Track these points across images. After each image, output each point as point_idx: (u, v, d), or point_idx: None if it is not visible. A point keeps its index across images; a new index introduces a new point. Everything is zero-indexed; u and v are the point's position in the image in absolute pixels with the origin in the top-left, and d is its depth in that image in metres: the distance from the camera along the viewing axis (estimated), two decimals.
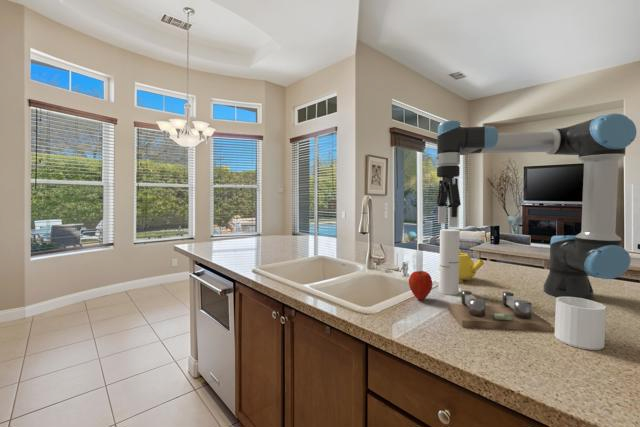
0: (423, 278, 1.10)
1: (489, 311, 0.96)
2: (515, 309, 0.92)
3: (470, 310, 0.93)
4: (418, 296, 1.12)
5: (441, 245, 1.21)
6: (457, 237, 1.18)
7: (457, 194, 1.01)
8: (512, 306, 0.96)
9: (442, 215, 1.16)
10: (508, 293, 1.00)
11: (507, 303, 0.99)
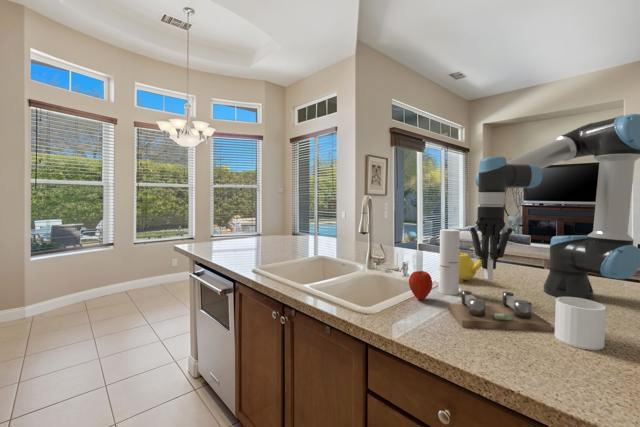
0: (423, 278, 1.10)
1: (489, 311, 0.96)
2: (515, 309, 0.92)
3: (470, 310, 0.93)
4: (418, 296, 1.12)
5: (441, 245, 1.21)
6: (457, 237, 1.18)
7: (475, 245, 0.98)
8: (512, 306, 0.96)
9: None
10: (508, 293, 1.00)
11: (507, 303, 0.99)
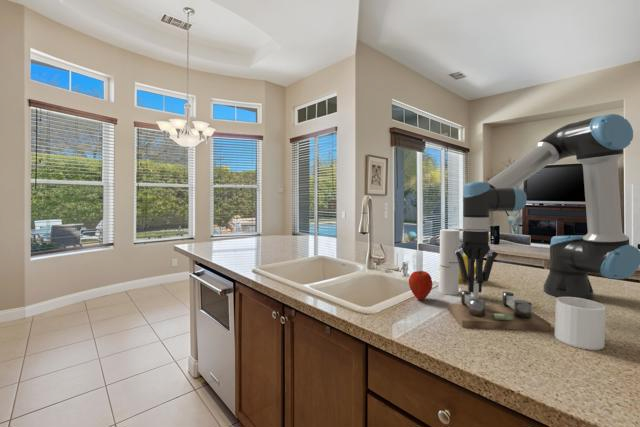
0: (423, 278, 1.10)
1: (489, 311, 0.96)
2: (515, 309, 0.92)
3: (470, 310, 0.93)
4: (418, 296, 1.12)
5: (441, 245, 1.21)
6: (457, 237, 1.18)
7: (461, 269, 0.99)
8: (512, 306, 0.96)
9: None
10: (508, 293, 1.00)
11: (507, 303, 0.99)
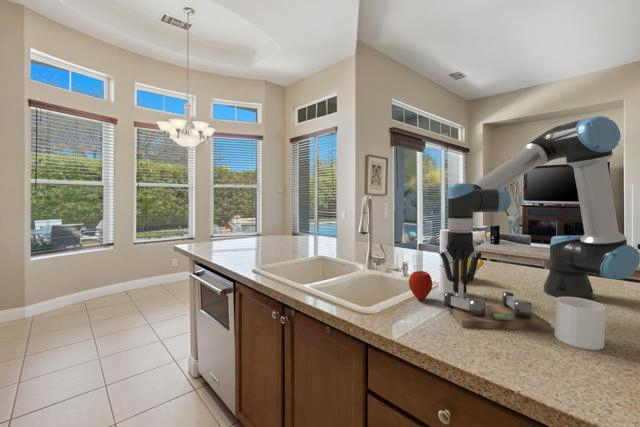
0: (423, 278, 1.10)
1: (489, 311, 0.96)
2: (515, 309, 0.92)
3: (475, 312, 0.92)
4: (418, 296, 1.12)
5: (441, 245, 1.21)
6: None
7: (446, 270, 1.00)
8: (512, 306, 0.96)
9: None
10: (508, 293, 1.00)
11: (507, 303, 0.99)
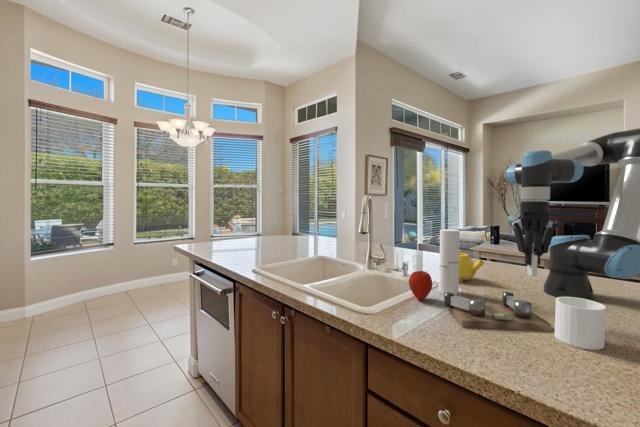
0: (423, 278, 1.10)
1: (489, 311, 0.96)
2: (515, 309, 0.92)
3: (475, 312, 0.92)
4: (418, 296, 1.12)
5: (441, 245, 1.21)
6: (457, 237, 1.18)
7: (519, 241, 0.96)
8: (512, 306, 0.96)
9: None
10: (508, 293, 1.00)
11: (507, 303, 0.99)
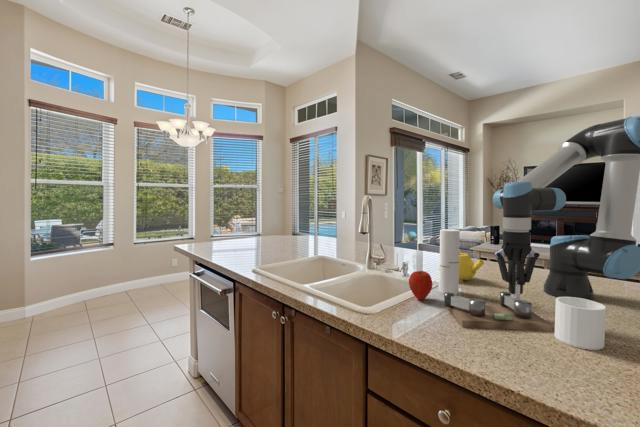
0: (423, 278, 1.10)
1: (489, 311, 0.96)
2: (515, 309, 0.92)
3: (475, 312, 0.92)
4: (418, 296, 1.12)
5: (441, 245, 1.21)
6: (457, 237, 1.18)
7: (502, 270, 0.97)
8: (511, 306, 0.96)
9: None
10: (506, 293, 1.00)
11: (505, 303, 0.99)
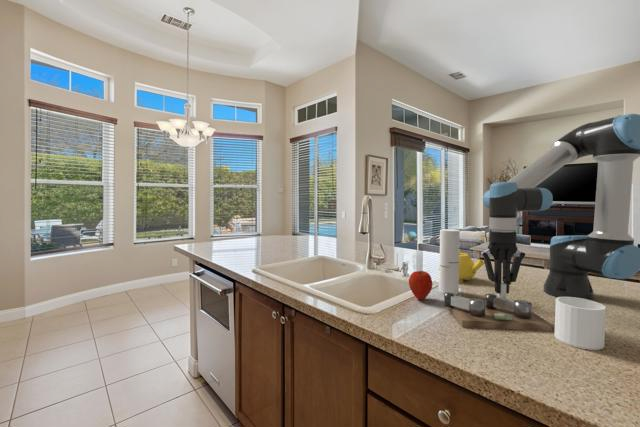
0: (423, 278, 1.10)
1: (489, 311, 0.96)
2: (520, 311, 0.90)
3: (475, 312, 0.92)
4: (418, 296, 1.12)
5: (441, 245, 1.21)
6: (457, 237, 1.18)
7: (488, 270, 0.98)
8: (506, 308, 0.94)
9: None
10: (492, 295, 0.98)
11: (495, 306, 0.97)
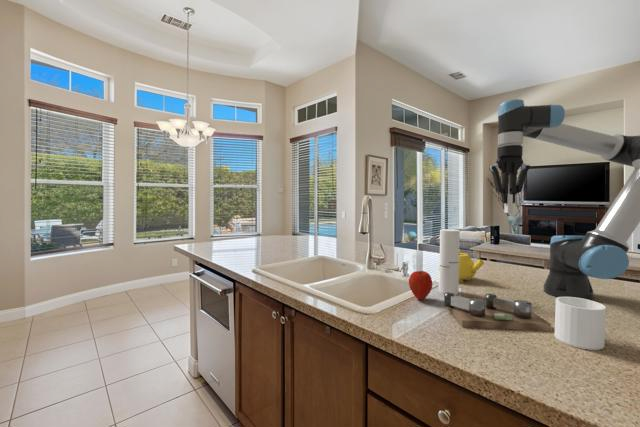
0: (423, 278, 1.10)
1: (489, 311, 0.96)
2: (520, 311, 0.90)
3: (475, 312, 0.92)
4: (418, 296, 1.12)
5: (441, 245, 1.21)
6: (457, 237, 1.18)
7: (496, 182, 1.08)
8: (506, 308, 0.94)
9: None
10: (492, 295, 0.98)
11: (495, 306, 0.97)
